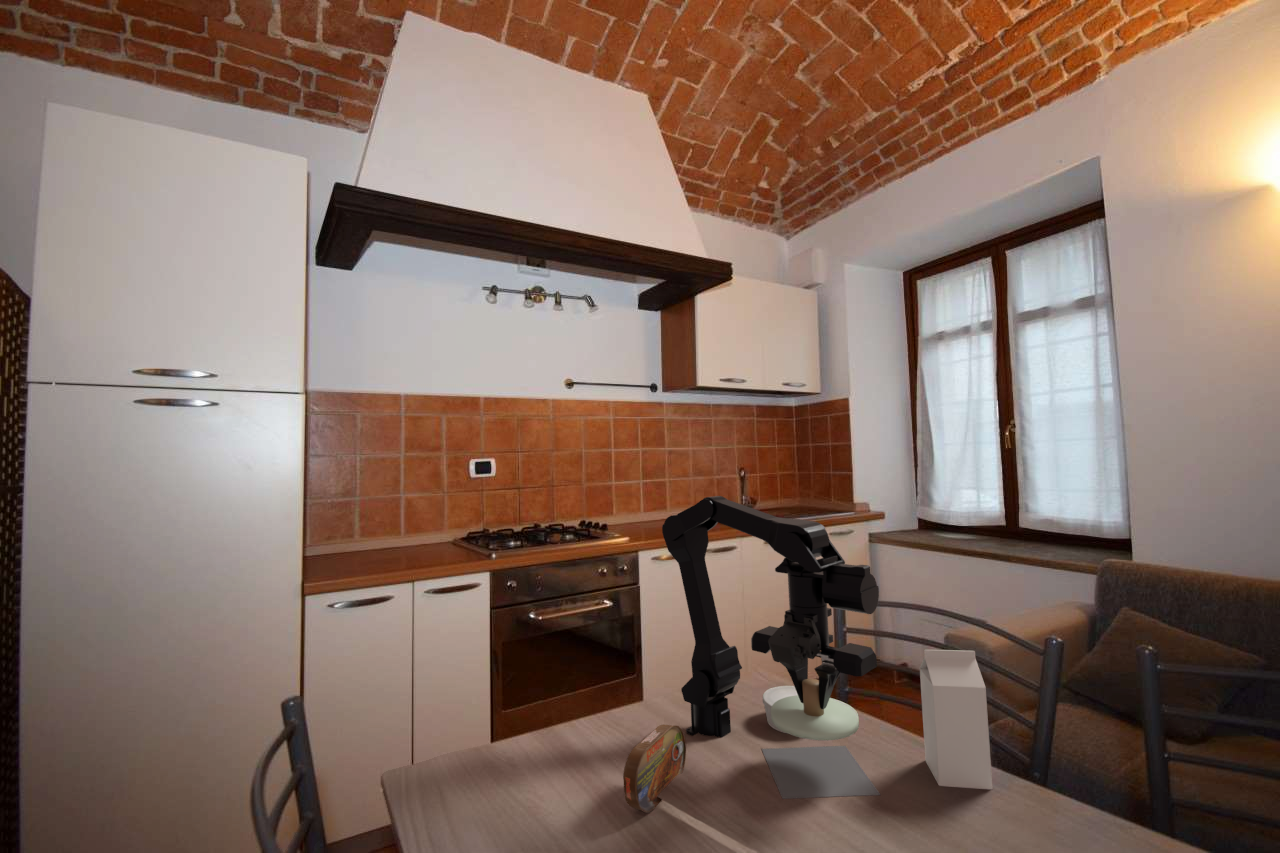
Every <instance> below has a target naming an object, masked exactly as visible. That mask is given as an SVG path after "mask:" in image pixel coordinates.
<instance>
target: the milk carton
mask: <svg viewBox="0 0 1280 853" xmlns="http://www.w3.org/2000/svg"><path fill="white" fill-rule="evenodd" d="M923 653H924V655H923V656H924V657H923V659H922V661H921V664H920V665H919V678H920V679H919V680H920V694H921V711H922V712H921V713H922V725H923V744H924V758H925V759H924V761H925V763H926V764H927V766H928V769H929V770H930V772H931V773H932V775H933V777H934V780H935V781H936V783H937V784H938V786H939V787H950V788H951V787H952V788H963V789H965V788H966V789H978V790H979V789H980V790H993V777H992V776H993V775H992V762H991V760H992V759H991V747H990V734H989V733H990V732H989V720H988V718H989V717H988V703H987V702H988V701H987V690H986V689H987V688H986V685H985V682H984V679H983V675H982V673H981V669H980V668H979V664H978V661H977V659H976V651H975V650H956V649H955V650H953V649H924V650H923Z"/></svg>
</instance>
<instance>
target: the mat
mask: <svg viewBox="0 0 1280 853" xmlns="http://www.w3.org/2000/svg"><path fill="white" fill-rule="evenodd" d="M761 751H762V754H763V756H764V758H765V761H766V763H767V765H768V768H769V770H770V773H771V775H772V778H773V780H774V782H775V784H776V787H777V790H778V792H779V794H780V796H781V798H782V800H787V799H788V800H791V799H812V798H813V799H814V798H818V799H820V798H840V797H842V798H843V797H845V798H847V797H868V796H871V797H872V796H873V797H874V796H881V793H880V792H879V791H878V789H877V788H876V786H875V785H874V783H873V781H872V780H871V779H870V778H869V776H868V775H867V774H866V772H865V771H864V769H863V768H862V767H861V765H860V763H858V760H856V758H855V757H854V755H853V754H852V753H851V751H850V750H849V749H848V747H847V746H846V745H827V746H825V745H822V746H799V747H778V748H777V747H776V748H773V747H772V748H771V747H770V748H761Z"/></svg>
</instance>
